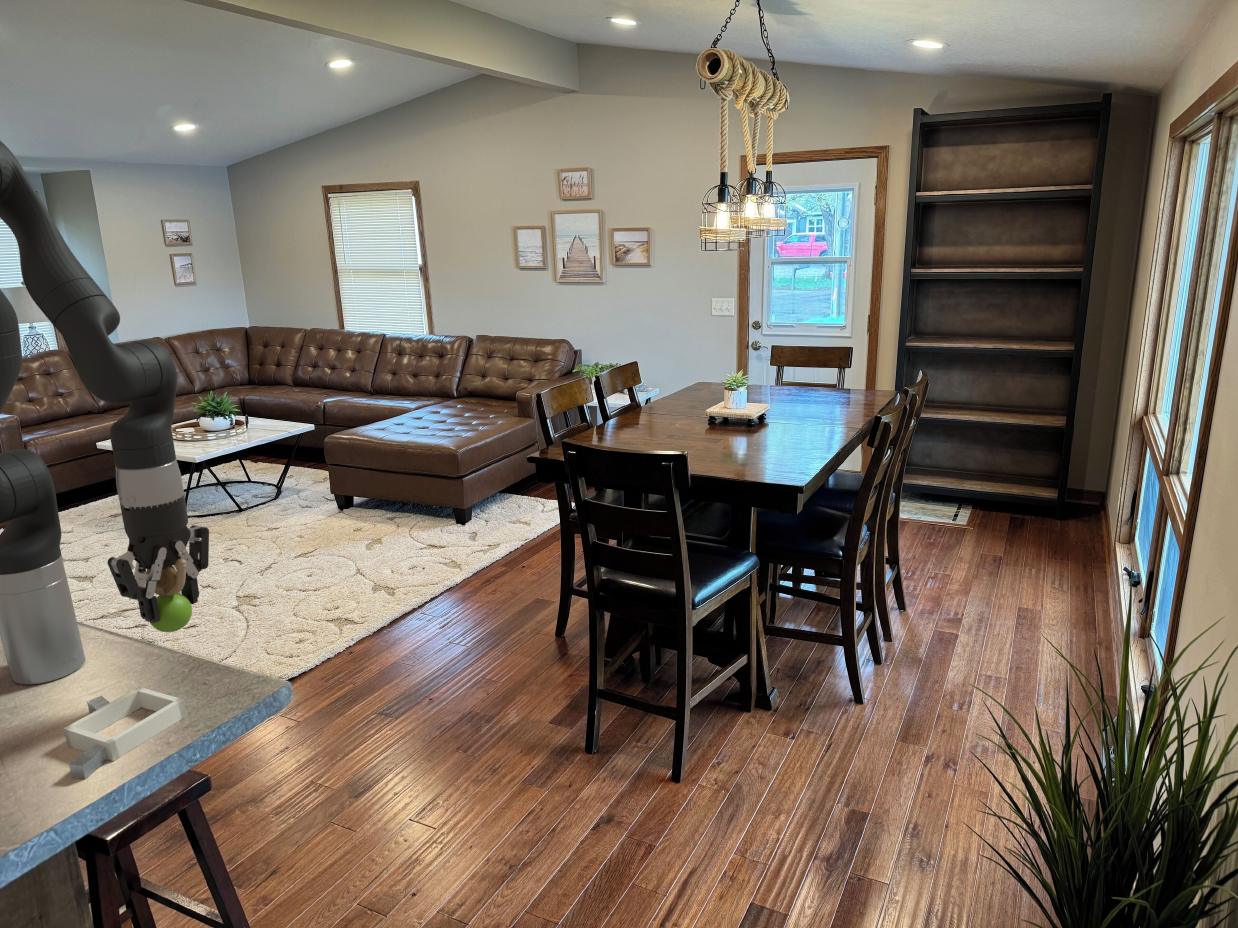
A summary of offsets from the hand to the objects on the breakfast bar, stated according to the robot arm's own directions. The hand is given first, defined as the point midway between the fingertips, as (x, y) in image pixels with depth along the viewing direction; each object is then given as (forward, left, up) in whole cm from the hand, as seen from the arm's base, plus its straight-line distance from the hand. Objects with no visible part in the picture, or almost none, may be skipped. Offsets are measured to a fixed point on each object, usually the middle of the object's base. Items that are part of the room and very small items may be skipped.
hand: (171, 611), depth 117 cm
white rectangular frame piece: (-1, -12, -12) cm, 17 cm away
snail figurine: (0, 0, -3) cm, 3 cm away
